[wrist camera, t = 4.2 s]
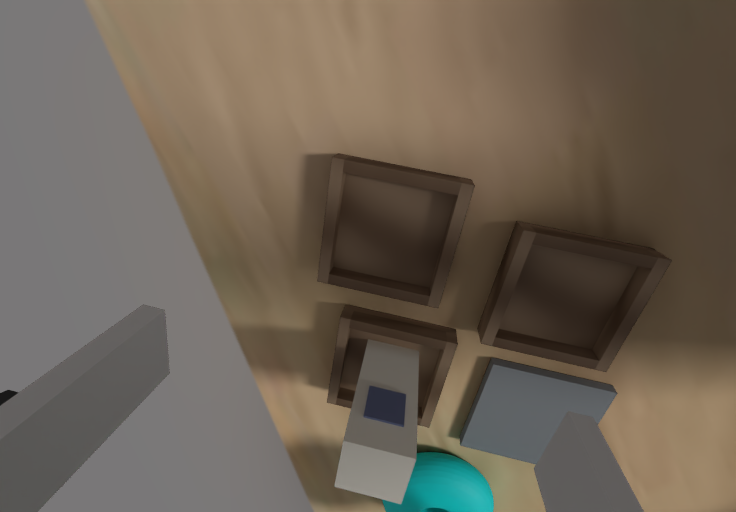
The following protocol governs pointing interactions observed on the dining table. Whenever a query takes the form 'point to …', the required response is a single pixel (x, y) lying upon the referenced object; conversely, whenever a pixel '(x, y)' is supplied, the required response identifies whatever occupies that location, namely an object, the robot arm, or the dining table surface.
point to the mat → (528, 408)
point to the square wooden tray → (394, 330)
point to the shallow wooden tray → (391, 228)
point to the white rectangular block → (382, 424)
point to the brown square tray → (568, 295)
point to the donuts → (444, 487)
